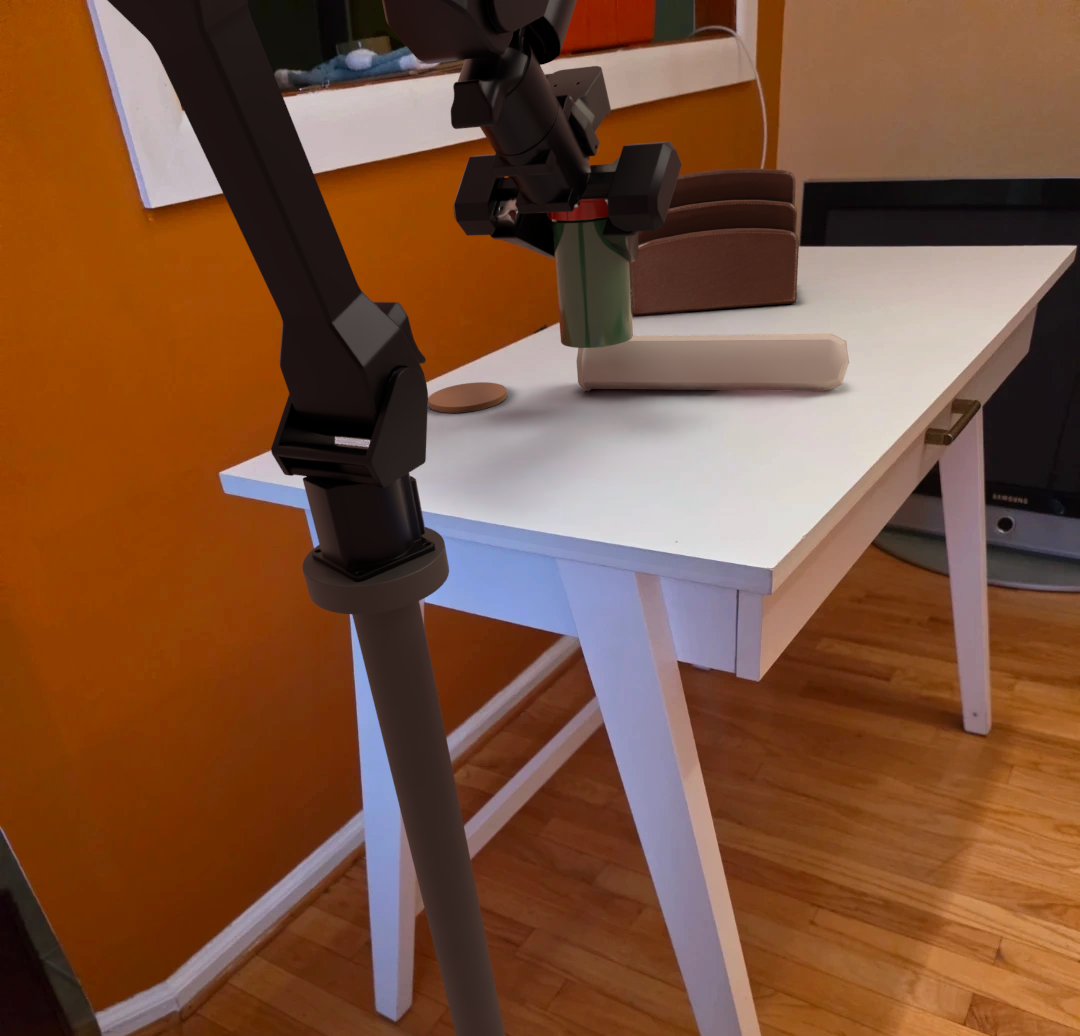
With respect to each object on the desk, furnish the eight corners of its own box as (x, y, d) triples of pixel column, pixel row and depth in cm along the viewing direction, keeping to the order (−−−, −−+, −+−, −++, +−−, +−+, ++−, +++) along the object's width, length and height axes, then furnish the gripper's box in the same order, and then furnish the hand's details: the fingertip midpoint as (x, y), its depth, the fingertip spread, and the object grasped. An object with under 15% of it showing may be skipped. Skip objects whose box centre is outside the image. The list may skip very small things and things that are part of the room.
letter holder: (636, 298, 126) (631, 177, 118) (790, 286, 122) (796, 161, 114) (631, 317, 118) (626, 188, 110) (796, 304, 114) (803, 170, 106)
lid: (618, 217, 77) (617, 193, 76) (537, 222, 79) (535, 199, 78) (640, 205, 82) (639, 183, 81) (563, 210, 85) (562, 188, 84)
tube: (854, 333, 87) (593, 335, 95) (851, 327, 82) (577, 331, 90) (847, 394, 88) (592, 392, 97) (844, 393, 84) (575, 390, 92)
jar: (622, 347, 83) (615, 200, 77) (551, 348, 85) (539, 205, 79) (641, 329, 88) (636, 190, 82) (573, 331, 90) (564, 195, 84)
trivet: (459, 418, 91) (458, 411, 91) (413, 404, 96) (412, 398, 96) (523, 395, 95) (522, 389, 95) (475, 383, 100) (474, 378, 100)
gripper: (669, 8, 66) (724, 169, 80) (451, 39, 75) (534, 180, 89) (625, 150, 65) (688, 289, 79) (409, 165, 74) (500, 288, 88)
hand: (599, 257), depth 84 cm, fingers closed on jar, 6 cm apart
